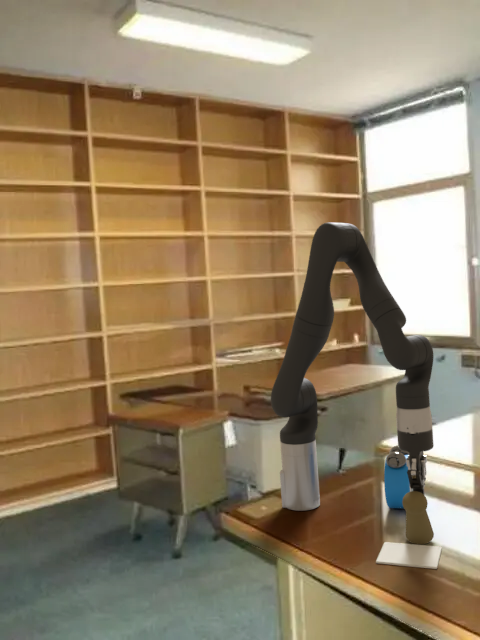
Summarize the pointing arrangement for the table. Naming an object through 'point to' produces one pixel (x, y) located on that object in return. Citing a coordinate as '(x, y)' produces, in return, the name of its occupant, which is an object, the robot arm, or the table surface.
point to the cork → (417, 518)
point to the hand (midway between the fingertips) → (419, 504)
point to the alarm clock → (396, 477)
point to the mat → (410, 555)
